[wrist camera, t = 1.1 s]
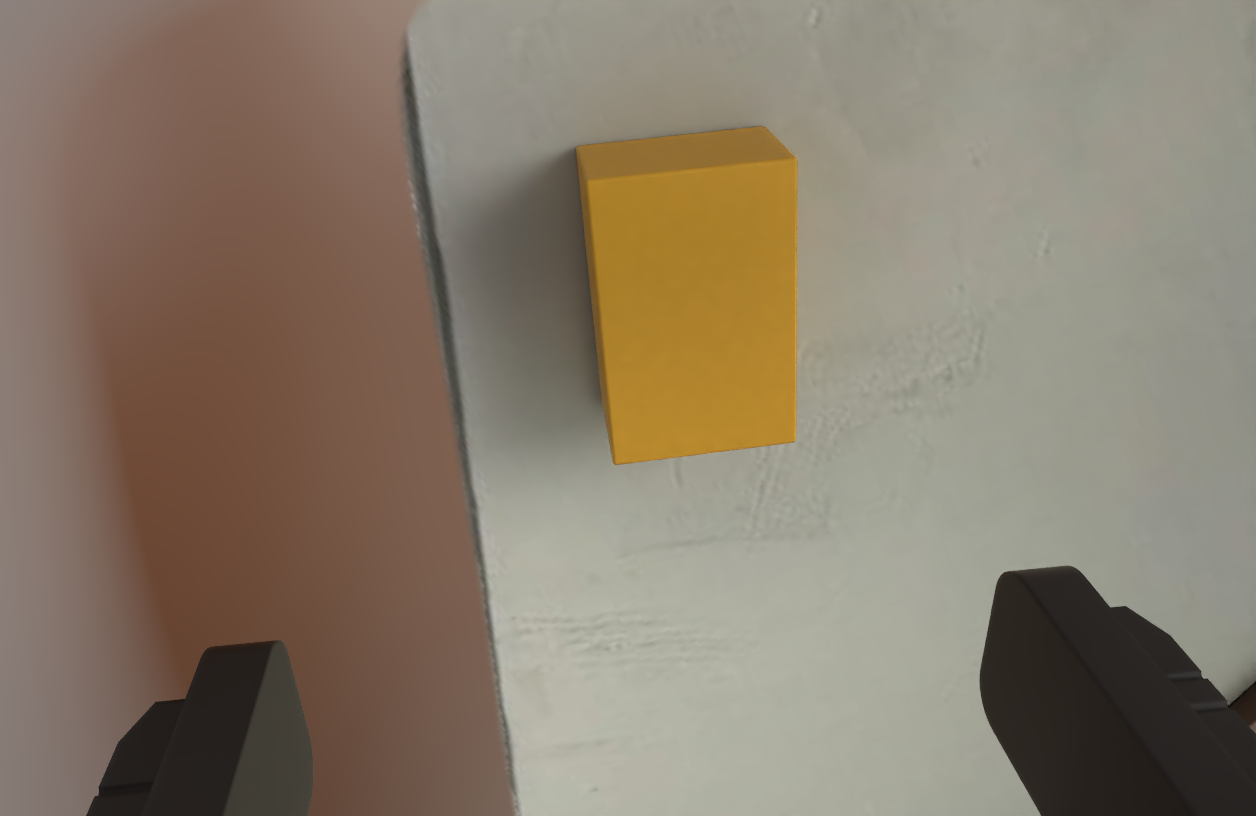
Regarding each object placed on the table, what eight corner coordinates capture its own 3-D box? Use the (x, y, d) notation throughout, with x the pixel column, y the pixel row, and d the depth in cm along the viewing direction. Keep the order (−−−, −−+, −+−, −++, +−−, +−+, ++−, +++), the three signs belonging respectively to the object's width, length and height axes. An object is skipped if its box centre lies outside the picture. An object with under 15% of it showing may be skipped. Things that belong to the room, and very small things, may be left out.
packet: (575, 145, 23) (584, 180, 20) (765, 124, 23) (798, 157, 21) (602, 407, 26) (613, 466, 24) (768, 386, 27) (797, 443, 24)
